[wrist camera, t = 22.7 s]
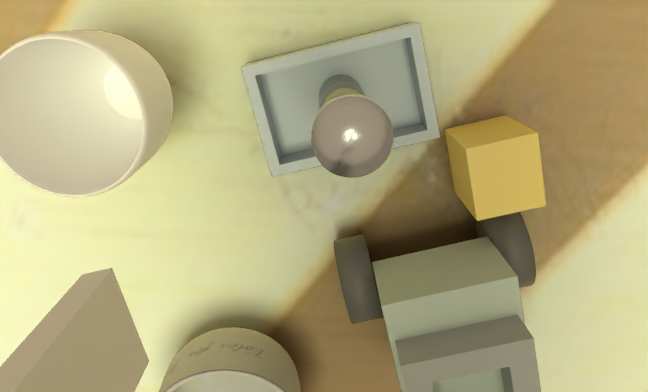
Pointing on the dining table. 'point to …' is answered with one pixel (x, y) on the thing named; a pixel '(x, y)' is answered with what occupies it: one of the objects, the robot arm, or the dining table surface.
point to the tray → (341, 59)
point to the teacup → (231, 364)
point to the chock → (496, 167)
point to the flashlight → (350, 129)
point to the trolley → (450, 308)
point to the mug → (80, 110)
